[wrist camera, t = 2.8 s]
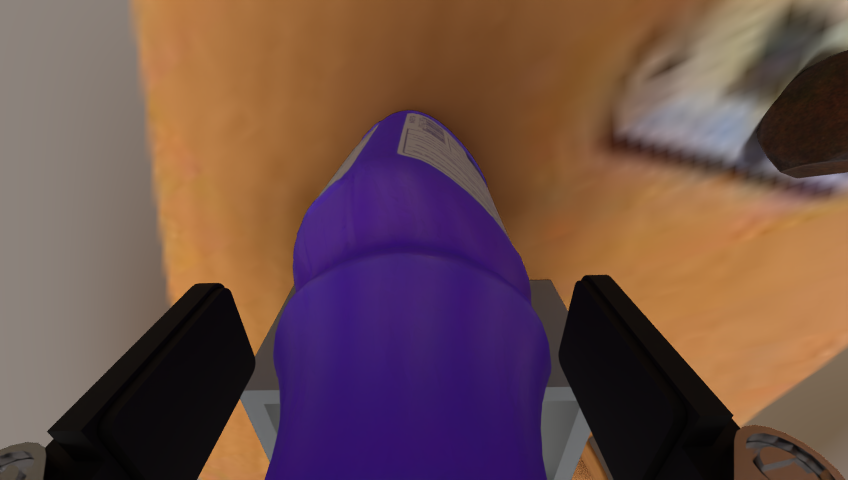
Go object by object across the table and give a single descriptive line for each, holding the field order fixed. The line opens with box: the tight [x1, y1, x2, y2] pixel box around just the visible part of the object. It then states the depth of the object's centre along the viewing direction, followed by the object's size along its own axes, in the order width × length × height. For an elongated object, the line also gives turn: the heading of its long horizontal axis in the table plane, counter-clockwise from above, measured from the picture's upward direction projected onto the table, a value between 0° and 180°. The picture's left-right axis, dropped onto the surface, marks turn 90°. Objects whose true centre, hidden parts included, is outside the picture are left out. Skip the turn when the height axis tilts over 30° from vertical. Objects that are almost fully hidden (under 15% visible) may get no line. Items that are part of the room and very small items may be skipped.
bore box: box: [240, 280, 591, 480], centre depth 23 cm, size 17×17×8 cm
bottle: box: [265, 110, 552, 480], centre depth 11 cm, size 7×6×17 cm
